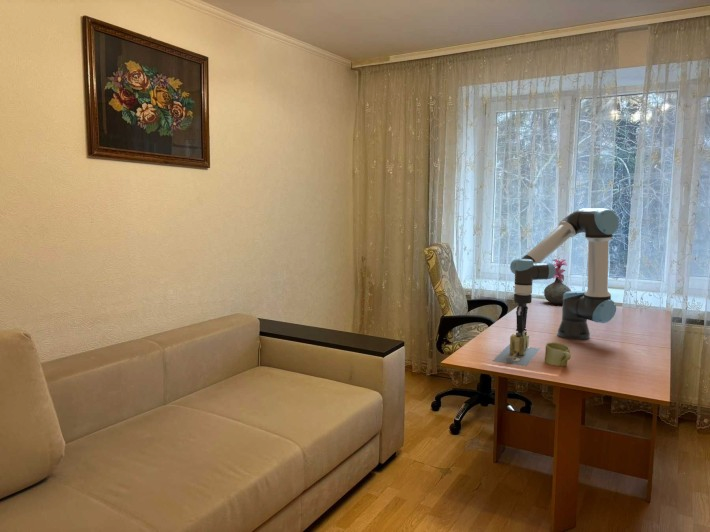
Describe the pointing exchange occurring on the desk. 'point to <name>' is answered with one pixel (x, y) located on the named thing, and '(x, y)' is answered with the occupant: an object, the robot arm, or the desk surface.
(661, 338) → the desk surface
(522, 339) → the trammel head
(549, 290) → the vase
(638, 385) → the desk surface
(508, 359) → the rail
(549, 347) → the mug
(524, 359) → the board
